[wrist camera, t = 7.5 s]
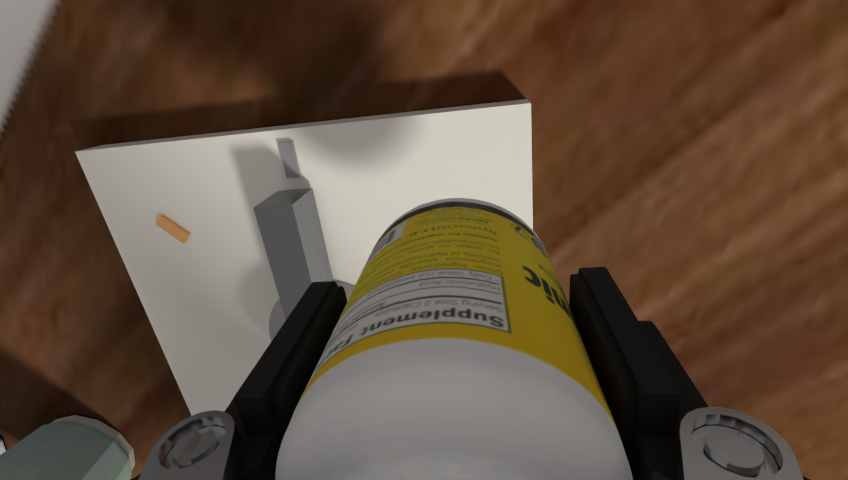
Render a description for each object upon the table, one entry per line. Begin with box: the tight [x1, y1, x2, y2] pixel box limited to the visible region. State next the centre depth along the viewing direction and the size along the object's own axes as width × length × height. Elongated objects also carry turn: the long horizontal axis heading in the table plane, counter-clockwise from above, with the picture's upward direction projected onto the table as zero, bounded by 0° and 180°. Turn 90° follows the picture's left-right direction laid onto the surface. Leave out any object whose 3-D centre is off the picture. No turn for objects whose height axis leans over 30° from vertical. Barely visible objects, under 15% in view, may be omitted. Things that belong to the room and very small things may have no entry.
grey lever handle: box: [253, 188, 334, 319], centre depth 19 cm, size 10×4×3 cm, turn 7°
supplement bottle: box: [275, 198, 633, 480], centre depth 8 cm, size 5×5×10 cm
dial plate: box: [75, 99, 533, 416], centre depth 21 cm, size 20×17×2 cm
